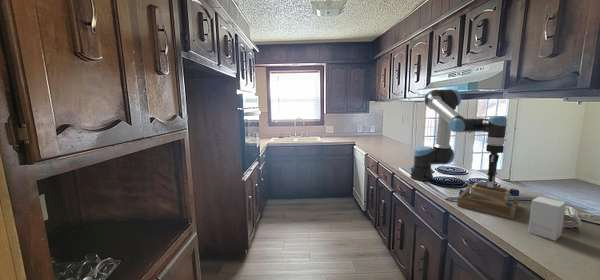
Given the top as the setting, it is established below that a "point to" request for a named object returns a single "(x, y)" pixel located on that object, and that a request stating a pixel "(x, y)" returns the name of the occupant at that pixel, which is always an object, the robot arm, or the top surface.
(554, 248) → the top surface
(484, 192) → the crate
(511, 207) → the bay
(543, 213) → the supplement box
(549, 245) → the top surface
